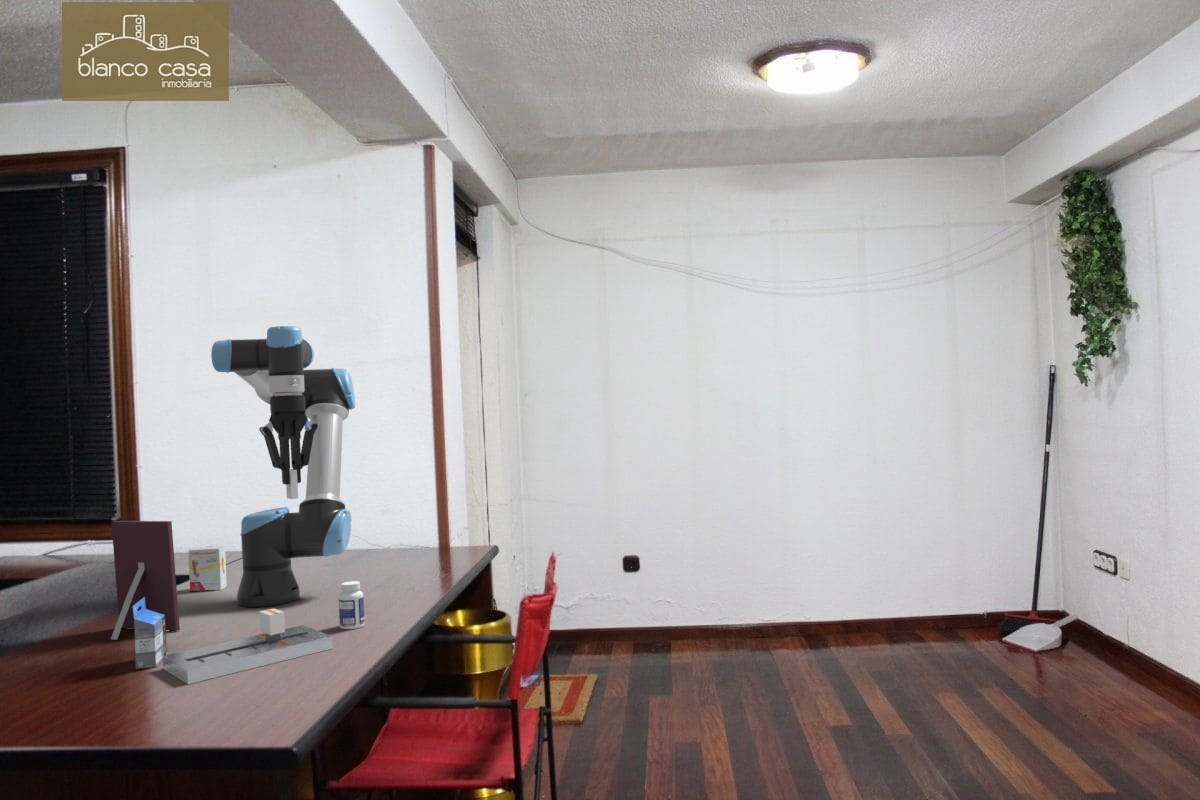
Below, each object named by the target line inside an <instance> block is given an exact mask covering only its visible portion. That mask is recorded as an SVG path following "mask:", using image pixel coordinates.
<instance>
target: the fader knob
mask: <svg viewBox="0 0 1200 800" xmlns="http://www.w3.org/2000/svg"><path fill="white" fill-rule="evenodd" d="M285 617H286V616H285V611H282V610H279V609H276V608H267V609H265V610H261V611H260V610H259V631H260V632H261V633H263V634H265V633H266V643H270V642H275V641H278V640H280V633H283V632H285V629H286V622H285V621H286V620H285Z"/></svg>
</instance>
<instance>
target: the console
mask: <svg viewBox="0 0 1200 800" xmlns="http://www.w3.org/2000/svg"><path fill="white" fill-rule="evenodd" d="M333 638H334V637H333V635H330V634H328V633H325V632H322V631H319V630H316V629H313V628H311V627H309V626H306V625H303V624H300V625H296V626H292V627H286V628H285V632H283V633H280V640H278V641H275V642H270V643H266V633H260V634H257V635H251V636H247V637H242V638H238V639H234V640H229V641H224V642H221V643H216V644H210V645H207V646H202V647H198V648H193V649H188V650H184V651H180V652H179V651H178V652H175V653H172V654H171V653H170V654H167V655H165V656H163V660H162V669H163V671H165V672H167V673H169V674H170V675H172V676H173V677H175V678H177V679H179V680H180V681H182V682H184V683H185V684H187V685H191V684H194V683H200V682H203V681H208V680H211V679H215V678H220V677H223V676H227V675H232V674H235V673H239V672H240V673H241V672H244V671H248V670H252V669H255V668H260V667H263V666H267V665H272V664H275V663H276V664H277V663H281V662H284V661H287V660H291V659H295V658H300V657H305V656H308V655H313V654H317V653H319V652H320V653H321V652H324V651H329V650H333V649H334V639H333Z"/></svg>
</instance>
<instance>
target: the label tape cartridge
mask: <svg viewBox="0 0 1200 800" xmlns="http://www.w3.org/2000/svg"><path fill="white" fill-rule="evenodd" d="M139 606H140V607H141V610H139V611H138V608H139ZM132 608H133V615H134V629H135V630H134V650H135V651H134V652H135V654H134V655H135V670H141V669H153V668H157V666H159V664H160V663H161V662H163V656H165V655H168V654H167V651H168V649H167V631H166V626H165V615H163V614H160V613H157V612H153V611H151V610H148V609H146V606H145V597H144V598H143V599H141V600H140V601H139V602H137V603H136V604H135V605H133V606H132Z"/></svg>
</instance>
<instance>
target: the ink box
mask: <svg viewBox="0 0 1200 800" xmlns="http://www.w3.org/2000/svg"><path fill="white" fill-rule="evenodd" d="M187 552H188V553H187V554H188V574H189V592H190V591H200V592H207V591H206V590H215V591H222V590H224V589H225V588H226V587H227V584H228V583H227V560H226V559H227V557H226V556H227V555H226V545H224V544H221V545H220V544H217V545H202V546H201V545H198V546H194V547H192V548H190V549H188V551H187Z"/></svg>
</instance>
